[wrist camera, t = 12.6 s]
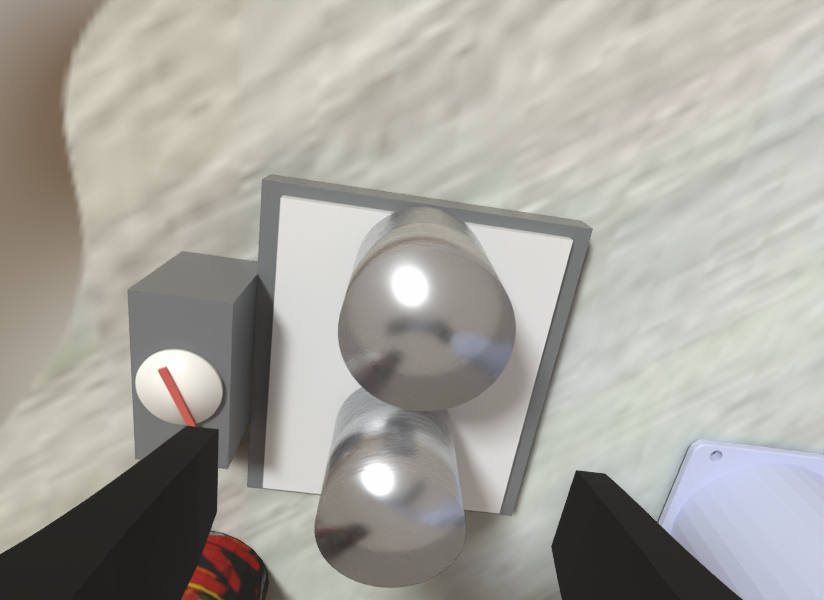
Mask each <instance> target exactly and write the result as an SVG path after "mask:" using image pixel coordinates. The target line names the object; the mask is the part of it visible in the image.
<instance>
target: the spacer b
mask: <svg viewBox="0 0 824 600" xmlns="http://www.w3.org/2000/svg"><path fill="white" fill-rule="evenodd" d="M515 336H516V322H515V315H514V311H513V307H512V304H511V301H510V299H509V297H508V295H507V293H506V291H505V289H504V287H503V285H502V283H501V281H500V279H499V278H498V276H497V274H496V272H495V270H494V268H493V266H492V264H491V262H490V261H489V259H488V257H487V255H486V253H485V251H484V249H483V247H482V245H481V243H480V242H479V240H478V238H477V237H476V235H475V233H474V232H473V231H472V230H471V229H470V227H469V226H468V225H466V224H465V223H464V222H463V221H462V220H460V219H459V218H457V217H456V216H454V215H452V214H450V213H448V212H446V211H443V210H440V209H435V208H430V207H412V208H407V209H403V210H400V211H397V212H394V213H392V214H390V215H388V216H386V217H385V218H383V219H382V220H380V221H379V222H378V223H377V224H376V225H374V226H373V227H372V229H371V230H370V231H369V232H368V233H367V235H366V236H365V238H364V239H363V241H362V243H361V245H360V247H359V250H358V253H357V256H356V260H355V263H354V267H353V270H352V274H351V277H350V281H349V284H348V288H347V291H346V295H345V298H344V301H343V305H342V308H341V312H340V316H339V322H338V342H339V348H340V351H341V355H342V358H343V360H344V362H345V365H346V367H347V368H348V370H349V372H350V373H351V375H352V376H353V377H354V379H355V380H356V381H357V382H358V384H360V385H361V386H362V387H363V388H364V389H365V390H366V391H367V392H369V393H370V394H371V395H373V396H374V397H376V398H377V399H379V400H381V401H383V402H385V403H387V404H390V405H392V406H395V407H398V408H402V409H406V410H412V411H438V410H444V409H449V408H452V407H456V406H459V405H461V404H463V403H466V402H468V401H470V400H472V399H473V398H475V397H477V396H479V395H480V394H481V393H483V392H484V391H485V390H487V389H488V388H489V387H490V386H491V385H492V384H493V383H494V382H495V381H496V380H497V378H498V377H499V376H500V375H501V373H502V372H503V370H504V369H505V367H506V365H507V363H508V361H509V359H510V357H511V354H512V351H513V347H514V343H515Z"/></svg>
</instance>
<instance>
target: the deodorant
mask: <svg viewBox="0 0 824 600" xmlns="http://www.w3.org/2000/svg"><path fill="white" fill-rule="evenodd" d="M267 588H268V576H267V571H266V569H265V566H264V564H263V562H262V560H261V559H260V558H259V557H258V556H257V554H256V553H255V552H254V551H253V550H252V549H251V548H249V547H248V546H246V545H245V544H244V543H242V542H241V541H239V540H237V539H235V538H232V537H230V536H228V535H225V534H223V533H218V532H213V531H210V533H209V536H208V539H207V542H206V544H205V547H204V550H203V553H202V555H201V558H200V561H199V563H198V565H197V568H196V570H195V572H194V574H193V576H192V578H191V580H190V582H189V584H188V586H187V588H186V591H185V593H184V595H183V597H182V599H181V600H265V596H266V592H267Z"/></svg>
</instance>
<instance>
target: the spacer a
mask: <svg viewBox="0 0 824 600" xmlns="http://www.w3.org/2000/svg"><path fill="white" fill-rule="evenodd" d="M465 537H466V520H465V513H464V507H463V500H462V493H461V487H460V480H459V473H458V466H457V460H456V453H455V446H454V440H453V433H452V426H451V420H450V416H449V413H448V411H447V409H444V410H438V411H412V410H406V409H402V408H398V407H395V406H392V405H390V404H387V403H385V402H383V401H381V400H379V399H377V398H376V397H374V396H373V395H371V394H370V393H369V392H367V391H366V390H365V389H364V388H363V387H361V388H359V389H358V390H356V391H355V392H353V393H352V394H351V395H350V396H349V397H348V398H347V399H346V400H345V401H344V403H343V404H342V406H341V408H340V410H339V412H338V415H337V418H336V422H335V427H334V432H333V437H332V442H331V446H330V451H329V456H328V461H327V466H326V471H325V476H324V481H323V485H322V490H321V495H320V500H319V505H318V510H317V515H316V520H315V538H316V542H317V545H318V548H319V550H320V552H321V554H322V555H323V557H324V558H325V559H326V561H327V562H328V563H329V564H330V565H331V566H332V567H333V568H334V569H336V570H337V571H338V572H339V573H341V574H343V575H344V576H346V577H348V578H350V579H352V580H354V581H357V582H360V583H363V584H366V585H371V586H376V587H390V588H394V587H404V586H410V585H414V584H418V583H421V582H424V581H426V580H429V579H431V578H433V577H434V576H436V575H438V574H439V573H441V572H442V571H444V570H445V569H446V568H447V567H448V566H450V565H451V563H452V562H453V561H454V560H455V559H456V557H457V556H458V554H459V553H460V551H461V549H462V547H463V544H464V541H465Z"/></svg>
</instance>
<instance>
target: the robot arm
mask: <svg viewBox="0 0 824 600" xmlns="http://www.w3.org/2000/svg"><path fill="white" fill-rule="evenodd" d="M218 443H219V429H213V428H204V427H195V426H186V427H184V428H183V429H182V430H180V431H179V432H178V433H176V434H175V435H173V436H172V437H171V438H169V439H168V440H167V441H165V442H164V443H163V444H161V445H160V446H159V447H158V448H156V449H155V450H154V451H152V452H151V453H150V454H148V455H147V456H146V457H144V458H143V459H142V460H140V461H139V462H138V463H136V464H135V465H134V466H132V467H131V468H130V469H128V470H127V471H126V472H124V473H123V474H121V475H120V476H119V477H117V478H116V479H115V480H113V481H112V482H110V483H109V484H108V485H106V486H105V487H103V488H102V489H101V490H99V491H98V492H97V493H95V494H94V495H92V496H91V497H89V498H88V499H87V500H85V501H84V502H82V503H81V504H79V505H78V506H76V507H75V508H73V509H72V510H70V511H69V512H67V513H66V514H64V515H63V516H61V517H60V518H58V519H57V520H55V521H54V522H52V523H51V524H49V525H48V526H46V527H45V528H43V529H41V530H40V531H38V532H37V533H35V534H33V535H32V536H30V537H29V538H27V539H25V540H24V541H22V542H20V543H19V544H17V545H15V546H14V547H12V548H10V549H9V550H7V551H5V552H3V553H2V554H0V600H181V599H182V597H183V595H184V593H185V591H186V588H187V586H188V584H189V582H190V580H191V578H192V576H193V574H194V572H195V570H196V568H197V565H198V563H199V561H200V558H201V555H202V553H203V550H204V547H205V544H206V542H207V539H208V536H209V533H210V530H211V527H212V524H213V521H214V518H215V516H216V513H217V486H218ZM714 451H716V452H715V453H714V454H713V455H711V453H712V452H714ZM551 547H552V552H553V558H554V563H555V568H556V574H557V579H558V583H559V588H560V593H561V597H562V600H824V454H818V453H810V452H802V451H794V450H785V449H777V448H769V447H761V446H752V445H744V444H736V443H728V442H720V441H711V440H698V441H695V442H694V443H692V444H691V446H690V447H689V449H688V451H687V454H686V456H685V459H684V461H683V464H682V466H681V468H680V471H679V473H678V476H677V478H676V481H675V483H674V485H673V488H672V490H671V493H670V495H669V497H668V500H667V502H666V505H665V507H664V510H663V512H662V514H661V517H660V519H659V522H658V523H657V522H656V521H655V520H654V519H653V518H652V517H651V516H650V515H649V514H648V513H647V512H646V511H645V510H644V509H643V508H642V507H641V506H640V505H639V504H638V503H637V502H635V501H634V500H633V499H632V498H631V497H630V496H629V495H628V494H627V493H626V492H625V491H624V490H623V489H622V488H621V487H620V486H618V485H617V484H616V483H615V482H614V481H613V480H612V479H611V478H609V477H608V476H607V475H606V474H603V473H595V472H586V471H577V470H576V472H575V475H574V478H573V482H572V485H571V488H570V491H569V494H568V497H567V500H566V503H565V506H564V509H563V512H562V515H561V518H560V522H559V525H558V528H557V531H556V534H555V537H554V540H553V543H552V546H551Z"/></svg>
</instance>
